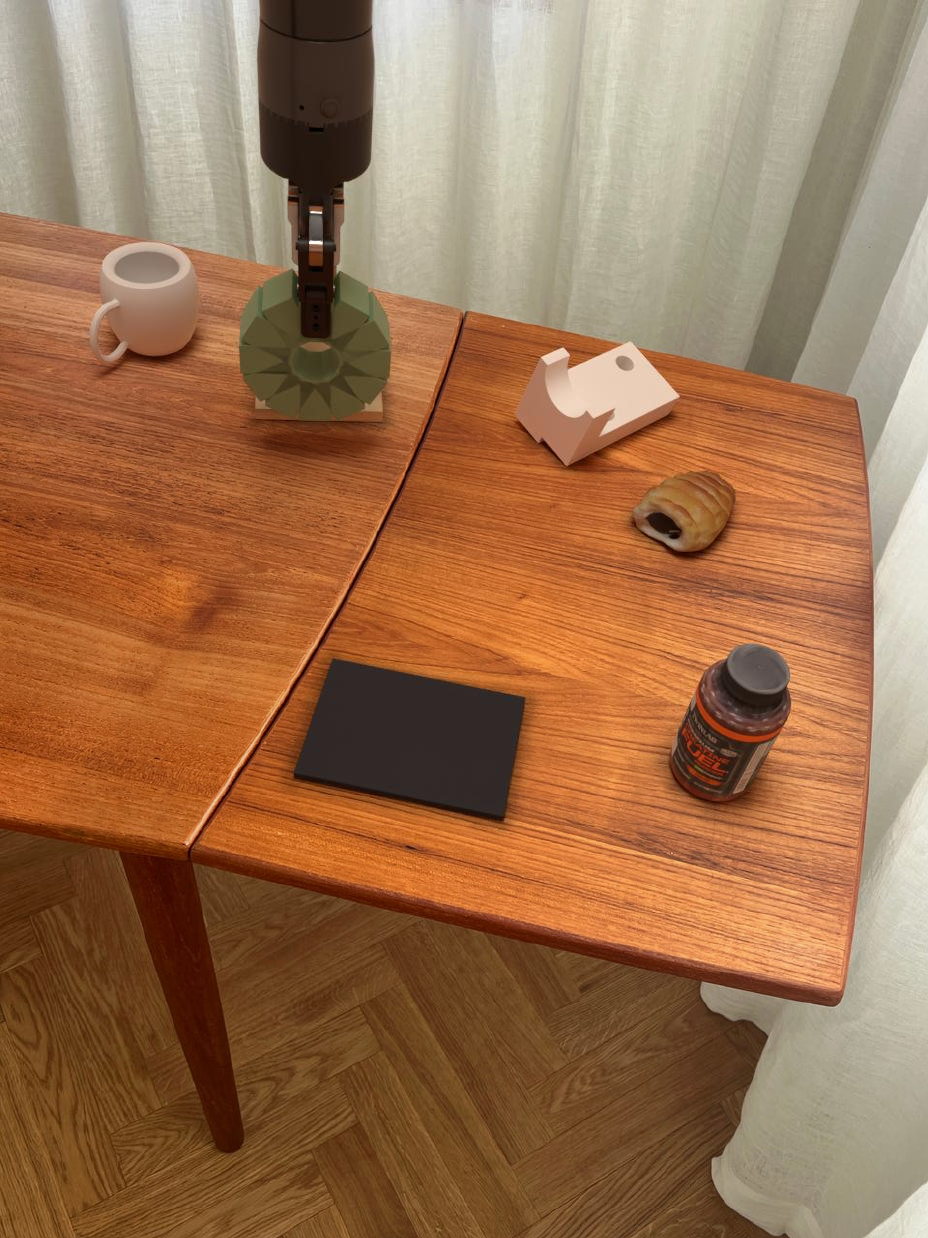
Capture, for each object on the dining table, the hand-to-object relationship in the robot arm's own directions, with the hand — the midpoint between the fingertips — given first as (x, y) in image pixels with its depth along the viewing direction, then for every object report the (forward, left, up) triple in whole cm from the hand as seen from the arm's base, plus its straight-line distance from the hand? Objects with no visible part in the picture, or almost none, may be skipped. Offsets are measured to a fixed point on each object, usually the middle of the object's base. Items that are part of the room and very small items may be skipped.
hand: (315, 316), depth 85 cm
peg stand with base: (+6, +7, -13) cm, 16 cm away
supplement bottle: (0, -43, -13) cm, 45 cm away
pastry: (+18, -26, -13) cm, 34 cm away
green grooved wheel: (0, 0, -3) cm, 3 cm away
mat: (-14, -28, -13) cm, 34 cm away
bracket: (+22, -13, -13) cm, 29 cm away
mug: (-4, +20, -13) cm, 24 cm away
